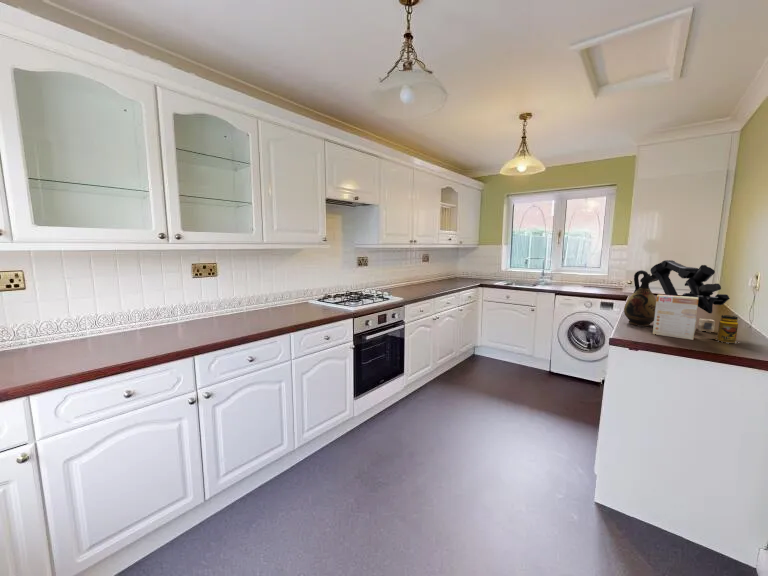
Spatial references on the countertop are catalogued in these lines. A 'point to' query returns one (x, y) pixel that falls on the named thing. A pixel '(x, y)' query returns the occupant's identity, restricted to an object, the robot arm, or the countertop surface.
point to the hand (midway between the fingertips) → (710, 312)
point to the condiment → (727, 329)
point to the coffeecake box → (675, 316)
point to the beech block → (706, 325)
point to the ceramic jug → (641, 301)
